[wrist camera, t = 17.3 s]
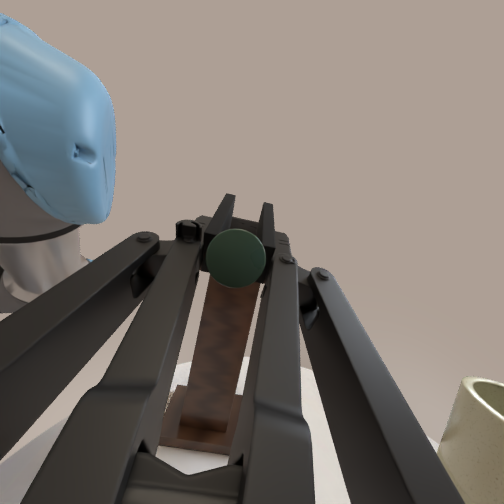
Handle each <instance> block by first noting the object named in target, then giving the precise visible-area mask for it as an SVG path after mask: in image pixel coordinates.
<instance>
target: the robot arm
mask: <svg viewBox="0 0 504 504" xmlns="http://www.w3.org/2000/svg"><path fill="white" fill-rule="evenodd" d="M115 156H116V128H115V116H114V109H113V105H112V101H111V98H110V95H109V94H108V92H107V90H106V88H105V87H104V85H103V84H102V83H101V81H100V79H99V78H98V77H97V76H96V75H95V74H94V73H93V72H92V71H90V70H89V69H88V68H87V67H85V66H84V65H82V64H81V63H79V62H78V61H76V60H74V59H73V58H71V57H69V56H68V55H66V54H64V53H63V52H61V51H59V50H58V49H56V48H54V47H53V46H51V45H49V44H48V43H46V42H44V41H43V40H41V39H40V38H39V37H38V36H37V35H36V34H35V33H34V32H33V31H31V30H30V29H29V28H27V27H26V26H24V25H22V24H21V23H19V22H18V21H16V20H14V19H12V18H10V17H8V16H6V15H4V14H2V13H0V313H12V314H11V315H9V316H8V317H6V318H5V319H3V320H2V321H0V460H1V459H2V458H3V457H4V456H5V455H6V454H7V453H8V452H9V451H10V450H11V448H12V447H13V446H14V445H15V444H16V443H17V442H18V441H19V439H20V438H21V437H22V436H23V435H24V434H25V433H26V431H27V430H28V429H29V428H30V427H31V426H32V425H33V424H34V422H35V421H36V420H37V419H38V418H39V417H40V416H41V414H42V413H43V412H44V411H45V410H46V409H47V408H48V407H49V405H50V404H51V403H52V402H53V401H54V400H55V399H56V397H57V396H58V395H59V394H60V393H61V392H62V390H64V388H65V387H66V386H67V385H68V384H69V383H70V382H71V381H72V379H73V378H74V377H75V376H76V375H77V374H78V373H79V371H80V370H81V369H82V368H83V367H84V366H85V364H87V362H88V361H89V360H90V359H91V358H92V357H93V356H94V354H95V353H96V352H97V351H98V350H99V349H100V348H101V347H102V345H103V344H104V343H105V342H106V341H107V339H109V338H110V336H111V335H112V334H113V333H114V332H115V331H116V329H117V328H118V327H119V326H120V325H121V324H122V323H123V322H124V321H125V319H126V318H127V317H128V316H129V315H130V314H131V313H132V311H133V310H134V309H135V308H136V307H137V306H138V305H139V304H140V302H141V301H142V300H143V299H144V300H143V302H142V303H141V305H140V307H139V309H138V311H137V313H136V315H135V317H134V319H133V321H132V323H131V325H130V326H129V328H128V330H127V332H126V334H125V336H124V338H123V340H122V342H121V344H120V346H119V347H118V349H117V351H116V353H115V355H114V357H113V359H112V361H111V363H110V365H109V367H108V369H107V370H106V373H105V374H104V376H103V378H102V379H101V381H100V382H99V383H98V384H97V385H96V386H94V387H92V388H91V389H89V390H88V391H87V392H86V393H85V394H84V395H83V396H82V397H81V399H80V400H79V402H78V403H77V405H76V406H75V408H74V409H73V411H72V413H71V415H70V416H69V418H68V420H67V422H66V423H65V425H64V427H63V429H62V430H61V432H60V434H59V436H58V438H57V439H56V441H55V443H54V445H53V446H52V448H51V450H50V452H49V453H48V455H47V457H46V459H45V460H44V462H43V464H42V466H41V468H40V469H39V471H38V473H37V475H36V476H35V478H34V480H33V482H32V483H31V485H30V487H29V489H28V491H27V492H26V494H25V496H24V498H23V499H22V501H21V503H20V504H315V490H314V473H313V456H312V442H311V433H310V429H309V426H308V423H307V422H306V421H305V419H304V418H303V415H302V407H301V373H300V338H299V323H300V327H301V330H302V334H303V337H304V341H305V344H306V348H307V351H308V355H309V358H310V362H311V365H312V369H313V372H314V376H315V380H316V383H317V387H318V390H319V394H320V397H321V401H322V404H323V408H324V411H325V415H326V418H327V422H328V425H329V429H330V432H331V436H332V439H333V443H334V446H335V450H336V453H337V457H338V460H339V464H340V467H341V471H342V474H343V478H344V481H345V485H346V489H347V492H348V495H349V498H350V502H351V504H465V502H464V500H463V499H462V497H461V495H460V493H459V492H458V490H457V488H456V487H455V485H454V483H453V481H452V480H451V478H450V476H449V474H448V473H447V471H446V469H445V468H444V466H443V464H442V462H441V461H440V459H439V457H438V455H437V454H436V452H435V450H434V449H433V447H432V445H431V443H430V442H429V440H428V438H427V436H426V435H425V433H424V432H423V430H422V428H421V426H420V424H419V423H418V421H417V419H416V418H415V416H414V414H413V412H412V411H411V409H410V407H409V406H408V404H407V402H406V400H405V399H404V397H403V395H402V394H401V392H400V390H399V388H398V386H397V385H396V383H395V381H394V380H393V378H392V376H391V375H390V373H389V371H388V369H387V367H386V366H385V364H384V362H383V361H382V359H381V357H380V355H379V354H378V352H377V350H376V348H375V347H374V345H373V344H372V342H371V340H370V338H369V336H368V335H367V333H366V331H365V330H364V328H363V326H362V324H361V323H360V321H359V319H358V317H357V316H356V314H355V312H354V310H353V309H352V307H351V305H350V304H349V302H348V300H347V299H346V297H345V295H344V293H343V292H342V290H341V288H340V286H339V285H338V283H337V281H336V279H335V278H334V276H333V275H332V274H331V273H330V272H329V271H327V270H325V269H323V268H319V267H315V268H312V270H311V272H310V271H307V270H305V269H303V268H301V267H299V266H298V265H297V260H296V259H295V258H294V257H292V255H291V249H290V244H289V238H288V237H287V235H286V234H285V233H281V232H276V231H275V229H274V214H273V204H270V203H266V202H264V204H263V208H262V211H261V215H260V220H259V223H258V227H257V231H256V237H257V238H258V239H259V240H260V241H261V243H262V245H263V247H264V249H265V253H266V263H265V267H264V270H263V272H262V274H261V276H260V277H259V278H258V279H257V280H256V281H255V282H258V283H262V284H263V283H264V280H265V285H264V288H263V291H262V294H261V303H260V308H259V313H258V318H257V324H256V329H255V334H254V339H253V344H252V350H251V355H250V360H249V365H248V371H247V376H246V381H245V386H244V391H243V397H242V402H241V407H240V412H239V417H238V422H237V427H236V431H235V434H234V438H233V442H232V446H231V450H230V455H229V460H228V465H227V466H223V467H219V468H215V469H211V470H207V471H203V472H200V473H196V474H192V475H186V474H184V473H182V472H180V471H179V470H177V469H175V468H174V467H172V466H170V465H169V464H167V463H165V462H164V461H162V460H160V459H159V458H157V457H155V455H156V451H157V447H158V443H159V439H160V434H161V428H162V421H163V416H164V411H165V407H166V403H167V399H168V395H169V391H170V387H171V383H172V380H173V376H174V372H175V368H176V364H177V360H178V356H179V352H180V348H181V344H182V340H183V336H184V333H185V329H186V325H187V321H188V317H189V313H190V309H191V305H192V301H193V297H194V293H195V289H196V285H197V282H198V277H199V270H200V267H201V271H204V272H209V271H208V269H207V265H206V252H207V248H208V246H209V244H210V242H211V241H212V240H213V238H214V237H215V236H217V235H218V234H219V233H221V232H223V231H225V230H229V228H230V226H231V220H232V214H233V208H234V201H235V195H231V194H226V195H225V197H224V199H223V200H222V202H221V204H220V205H219V207H218V209H217V211H216V212H215V214H214V216H213V218H211V217H207V216H203V215H202V216H200V217H198V218H196V220H195V221H193V220H181V221H179V222H177V223H176V238H175V240H172V241H160V240H159V236H158V235H157V234H155V233H153V232H138V233H135V234H133V235H132V236H130V237H128V238H127V239H125V240H124V241H122V242H121V243H119V244H118V245H116V246H115V247H113V248H112V249H110V250H109V251H107V252H105V253H104V254H102V255H101V256H99V257H98V258H96V259H95V260H90V259H85V258H84V257H83V256H82V255H81V254H80V238H79V228H80V227H81V226H82V225H84V224H87V223H88V224H99V223H102V222H103V221H105V220H106V219H107V217H108V216H109V213H110V210H111V205H112V200H113V192H114V184H115ZM201 265H202V266H201Z"/></svg>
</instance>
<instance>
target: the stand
mask: <svg viewBox="0 0 504 504" xmlns="http://www.w3.org/2000/svg"><path fill="white" fill-rule="evenodd" d="M201 266H202V265H201ZM200 270H201V267H200ZM264 284H265V280H264ZM259 288H260V283H258V282H254V283H252V284H250V285H249V286H246V287H243V288H229V287H226V286H223V285H221V284H220V283H218V282H217V281H216V280H215V279H214V278H213V277H212V276H211V275H210V277H209V282H208V287H207V292H206V297H205V302H204V307H203V312H202V316H201V321H200V326H199V331H198V336H197V341H196V345H195V350H194V355H193V360H192V365H191V370H190V374H189V379H188V384H187V386H183V385H177V387H176V390H175V392H174V394H173V396H172V399H171V401H170V403H169V406H168V408H167V410H166V412H165V415H164V417H163V421H162V428H161V434H160V439H159V443H158V445H164V446H171V447H177V448H184V449H191V450H198V451H205V452H212V453H219V454H226V455H230V450H231V446H232V442H233V438H234V434H235V431H236V427H237V422H238V417H239V412H240V407H241V402H242V397H243V395H237V394H235V392H236V387H237V383H238V379H239V374H240V370H241V366H242V361H243V357H244V353H245V348H246V343H247V340H248V335H249V331H250V326H251V322H252V318H253V314H254V309H255V305H256V300H257V296H258V292H259Z"/></svg>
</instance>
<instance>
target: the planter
mask: <svg viewBox="0 0 504 504" xmlns="http://www.w3.org/2000/svg"><path fill="white" fill-rule="evenodd" d="M437 455H438V457H439V459H440V461H441V462H442V464H443V466H444V468H445V469H446V471H447V473H448V474H449V476H450V478H451V480H452V481H453V483H454V485H455V487H456V488H457V490H458V492H459V493H460V495H461V497H462V499H463V500H464V502H465V504H504V384H503V383H500V382H496V381H493V380H490V379H486V378H481V377H475V376H467V377H464V378H463V379H462V381H461V384H460V387H459V390H458V393H457V396H456V399H455V402H454V404H453V407H452V410H451V413H450V416H449V419H448V422H447V425H446V428H445V431H444V434H443V436H442V439H441V443H440V445H439V448H438V451H437Z"/></svg>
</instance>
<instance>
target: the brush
mask: <svg viewBox="0 0 504 504" xmlns="http://www.w3.org/2000/svg"><path fill="white" fill-rule="evenodd" d="M257 227H258V222H254V221H250V220H245V219H241V218H236V217H232V220H231V226H230V228H229V230H225V231H223V232H221V233H219V234H218V235H217V236H215V237H214V238H213V240H212V241H211V242H210V244H209V246H208V248H207V252H206V265H207V269H208V271H209V273H210V275H211V276H212V277H213V278H214V279H215V280H216V281H217V282H218V283H220V284H221V285H223V286H226V287H229V288H243V287H246V286H249V285H250V284H252V283H254V282H255V281H256V280H257V279H258V278H259V277H260V276H261V274H262V272H263V270H264V267H265V263H266V253H265V249H264V247H263V245H262V243H261V241H260V240H259V239H258V238H257V237H256V231H257Z"/></svg>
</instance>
